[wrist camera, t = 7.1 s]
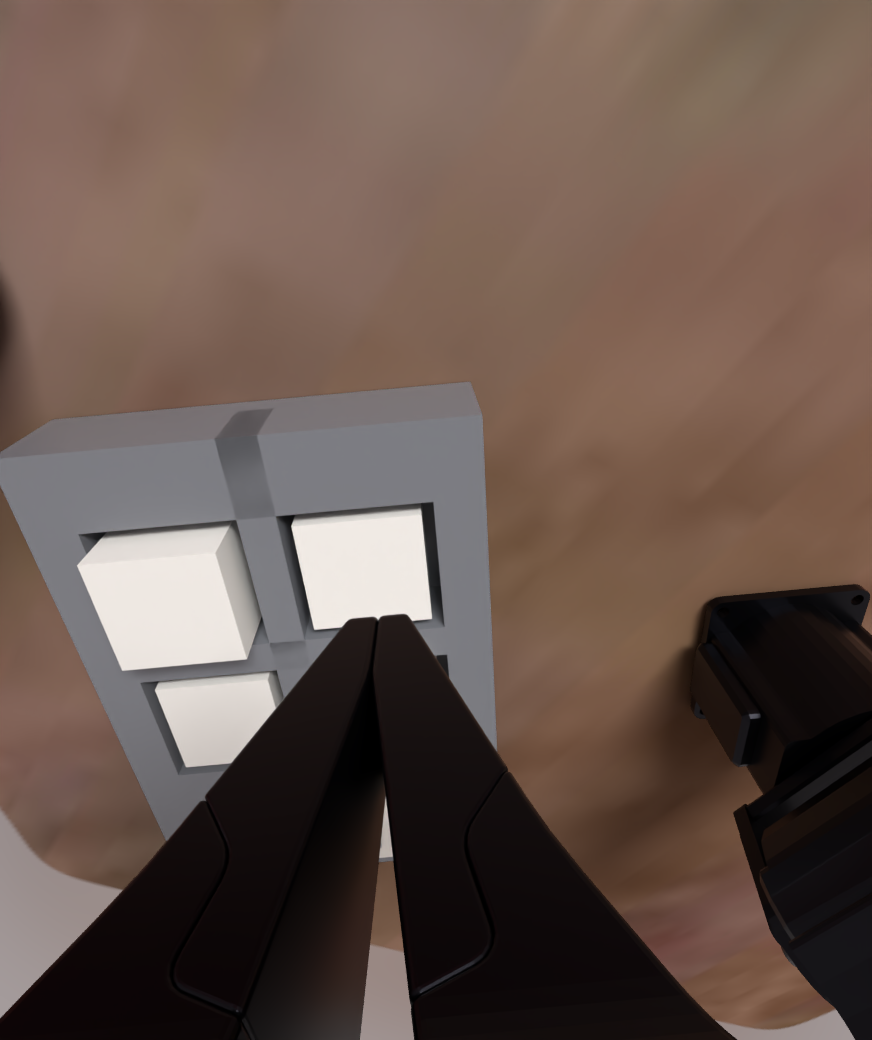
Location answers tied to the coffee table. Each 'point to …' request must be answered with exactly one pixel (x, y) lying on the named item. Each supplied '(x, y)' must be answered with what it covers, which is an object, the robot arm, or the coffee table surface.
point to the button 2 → (217, 713)
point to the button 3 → (364, 563)
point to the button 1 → (173, 594)
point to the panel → (259, 535)
